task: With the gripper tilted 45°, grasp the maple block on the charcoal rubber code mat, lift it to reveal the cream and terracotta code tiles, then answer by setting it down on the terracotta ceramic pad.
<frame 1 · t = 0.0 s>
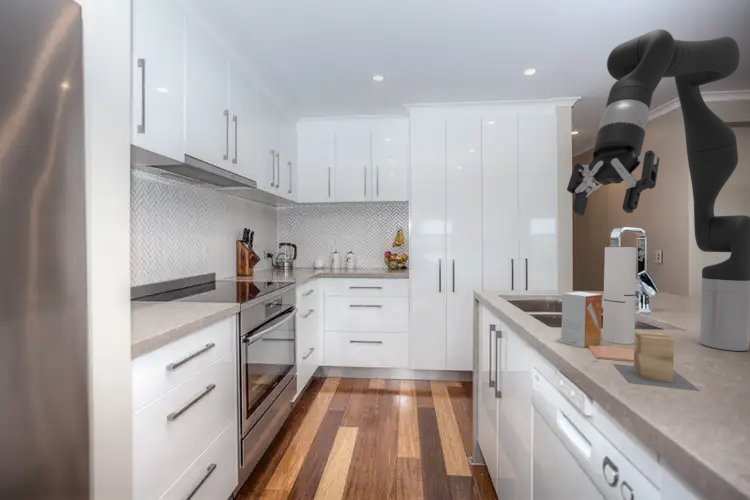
hand: (601, 212, 69), 31 cm above the countertop, tool tilted 20°, fingers open, 8 cm apart
maple block: (652, 376, 76), resting on code mat
cylindrical container: (618, 341, 104), on the countertop
small box: (580, 344, 100), on the countertop
code mat: (652, 376, 76), on the countertop
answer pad: (616, 355, 90), on the countertop
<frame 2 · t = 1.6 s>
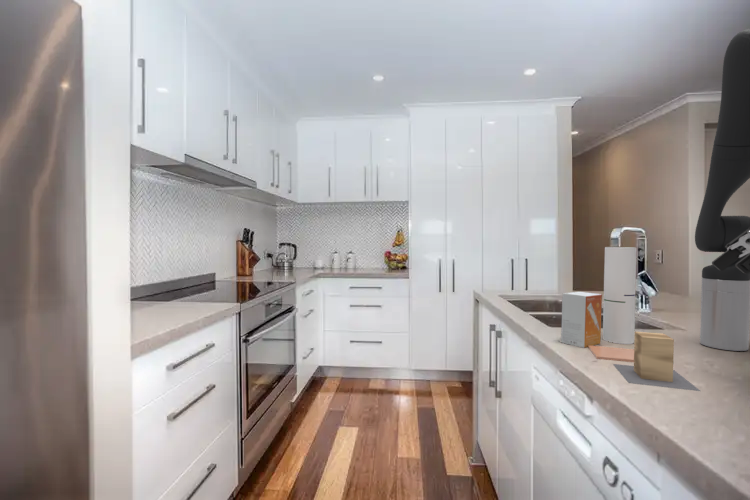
hand: (727, 268, 72), 22 cm above the countertop, tool tilted 45°, fingers open, 8 cm apart
nothing on the countertop moved.
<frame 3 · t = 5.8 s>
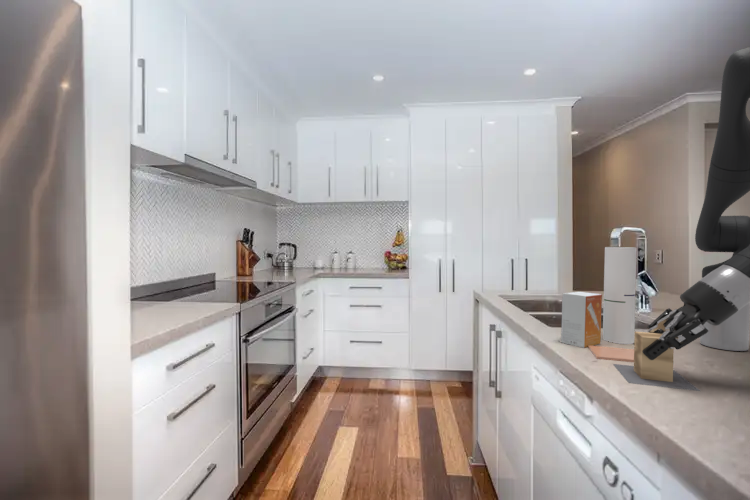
hand: (642, 351, 76), 5 cm above the countertop, tool tilted 45°, fingers closed on maple block, 5 cm apart
maple block: (652, 376, 76), resting on code mat, touching gripper
everything else where it was.
when the fingers open (7 cm above the countertop, at t = 12.9 s): maple block drops 2 cm, resting on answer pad.
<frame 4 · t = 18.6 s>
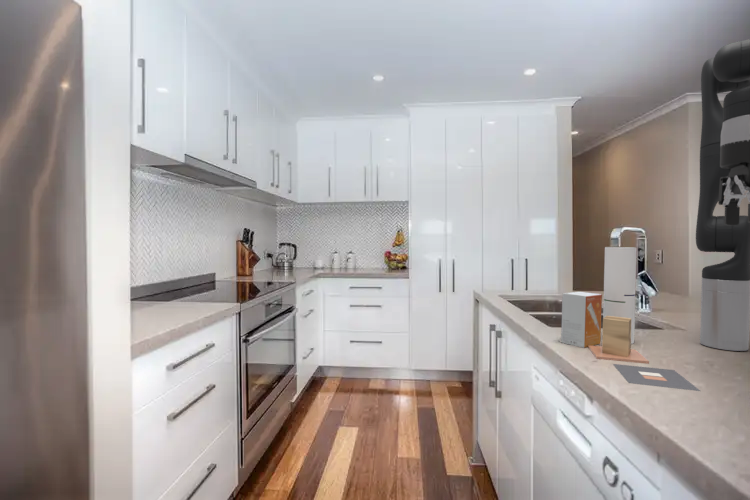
hand: (743, 224, 77), 30 cm above the countertop, tool pointing down, fingers open, 8 cm apart
maple block: (616, 352, 90), point 1 cm above the countertop, touching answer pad
everything else where it was.
at the end: maple block 0.0 cm off-centre on the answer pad, point 0.6 cm above the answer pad's base; maple block tilted 0°; the gripper is holding nothing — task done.
